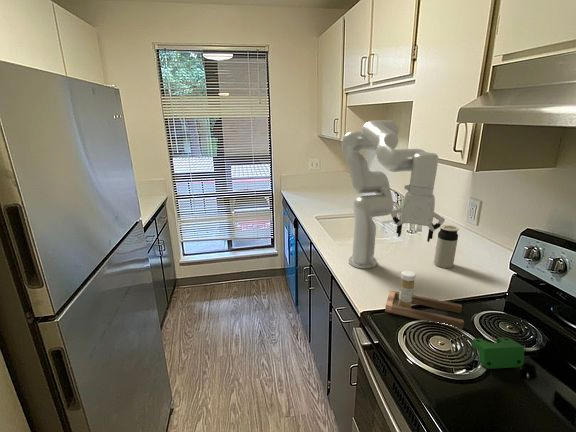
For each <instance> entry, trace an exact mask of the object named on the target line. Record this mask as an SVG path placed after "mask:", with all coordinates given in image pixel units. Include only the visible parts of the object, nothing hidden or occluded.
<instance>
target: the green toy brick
mask: <svg viewBox="0 0 576 432" xmlns="http://www.w3.org/2000/svg"><path fill="white" fill-rule="evenodd" d="M472 346H473V347H474V348H475V349H477V350H478V351H479V352H478V353H479V354H478V362H479V364H480V365H482V366H483V367H484V368H485V369H487V370H489V369H490V370H491V369H506V368H507V369H509V368H512V369H513V368H520V367H523V366H524V363H525V346H524V345H522V344H520V343H519V342H516V341H515V340H514V339H512V338H510V337H506V336H505V337H501V336H500V337H496V342H490V341H487V340H485V339H483V338H473V339H472Z"/></svg>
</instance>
